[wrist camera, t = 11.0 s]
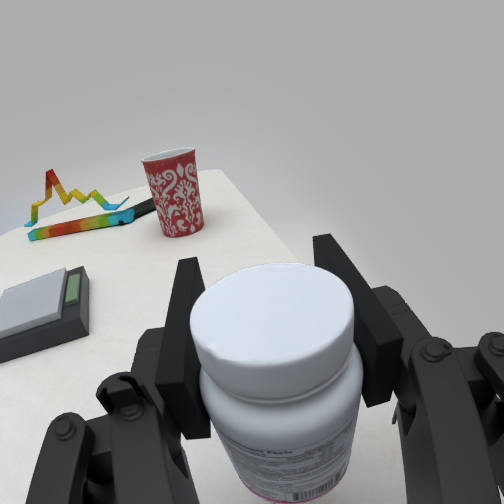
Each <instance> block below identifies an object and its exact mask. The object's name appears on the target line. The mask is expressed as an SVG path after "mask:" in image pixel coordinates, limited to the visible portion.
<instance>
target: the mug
mask: <svg viewBox="0 0 504 504" xmlns="http://www.w3.org/2000/svg"><path fill="white" fill-rule="evenodd" d="M141 161H142V163H143V165H144V168H145V172H146V175H147V179H148V183H149V186H150V190H151V193H152V197H153V200H154V204H155V207H156V210H157V213H158V217H159V220H160V224H161V227H162V230H163V233H164V234H165V235H166V236H169V237H180V236H186V235H189V234H192V233H194V232H196V231H198V230H200V229H201V228H202V227H203V225H204V222H203V215H202V209H201V201H200V194H199V186H198V178H197V170H196V162H195V148H194V147H185V148H177V149H172V150H168V151H164V152H160V153H156V154H153V155H150V156H147V157H145V158H143V159H142V160H141Z"/></svg>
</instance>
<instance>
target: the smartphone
mask: <svg viewBox="0 0 504 504" xmlns="http://www.w3.org/2000/svg"><path fill="white" fill-rule="evenodd" d="M155 208H156V207H155V204H154V200H153V197H152V198H150V199H148V200H146V201H144V202H141V203H139V204H137V205H135V206H133V207H130V208H128V209H133V210H134V213H135V214H134V215H133V218H136V217H138V216H140V215H142V214H145V213H147V212H149V211H151V210H153V209H155ZM128 209H126V210H128ZM118 224H120V225H122V224H124V221H118Z"/></svg>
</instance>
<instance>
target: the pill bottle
mask: <svg viewBox="0 0 504 504" xmlns="http://www.w3.org/2000/svg"><path fill="white" fill-rule="evenodd" d="M190 329H191V334H192V337H193V340H194V343H195V347H196V350H197V354H198V357H199V360H200V363H201V365H202V366H201V370H200V378H199V384H200V392H201V396H202V399H203V403H204V405H205V408H206V410H207V412H208V415H209V417H210V419H211V421H212V423H213V425H214V427H215V429H216V431H217V433H218V436H219V438H220V440H221V442H222V444H223V446H224V448H225V450H226V452H227V454H228V456H229V458H230V460H231V462H232V464H233V466H234V468H235V470H236V472H237V473H238V475H239V477H240V479H241V481H242V482H243V483H244V485H245V486H246V487H247V488H248V489H249V490H250V491H251V492H253V493H254V494H255V495H257V496H259V497H261V498H263V499H265V500H267V501H270V502H273V503H278V504H302V503H306V502H310V501H313V500H316V499H318V498H320V497H322V496H323V495H325V494H327V493H328V492H330V491H331V490H332V489H333V488H334V487H335V486H336V485H337V484H338V483H339V482H340V480H341V479H342V477H343V476H344V474H345V472H346V470H347V467H348V464H349V461H350V456H351V448H352V443H353V438H354V433H355V427H356V422H357V416H358V410H359V404H360V398H361V392H362V384H363V363H362V359H361V355H360V352H359V350H358V348H357V346H356V345H355V343H354V342H353V334H354V332H353V329H354V304H353V298H352V295H351V293H350V291H349V289H348V287H347V286H346V285H345V283H344V282H343V281H342V280H341V279H340V278H338V277H337V276H335V275H334V274H332V273H330V272H328V271H326V270H324V269H322V268H319V267H315V266H311V265H307V264H299V263H268V264H262V265H257V266H253V267H249V268H246V269H243V270H240V271H237V272H235V273H232V274H230V275H228V276H226V277H224V278H222V279H220V280H218V281H217V282H215V283H214V284H212V285H211V286H210V287H208V288H207V289H206V290H205V291H204V292H203V293H202V294H201V295H200V297H199V298H198V299H197V301H196V302H195V304H194V306H193V308H192V311H191V314H190Z"/></svg>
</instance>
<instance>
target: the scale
mask: <svg viewBox="0 0 504 504" xmlns="http://www.w3.org/2000/svg"><path fill="white" fill-rule="evenodd" d="M88 299H89V279H88V276H87V274H86V271H85V269H84V266H81V267H78V268H75V269H73V270H70V271H66V268H63V269H60V270H57V271H55V272H52V273H49V274H46V275H43V276H41V277H38V278H35V279H33V280H30V281H27V282H24V283H22V284H19V285H16V286H14V287H11V288H8V289H6V290H4V292H3V294H2V296H1V298H0V363H2V362H5V361H8V360H11V359H15V358H18V357H21V356H24V355H27V354H31V353H34V352H37V351H40V350H43V349H46V348H49V347H53V346H56V345H59V344H62V343H65V342H68V341H71V340H74V339H77V338H80V337H83V336H86V335H89V330H88Z"/></svg>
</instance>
